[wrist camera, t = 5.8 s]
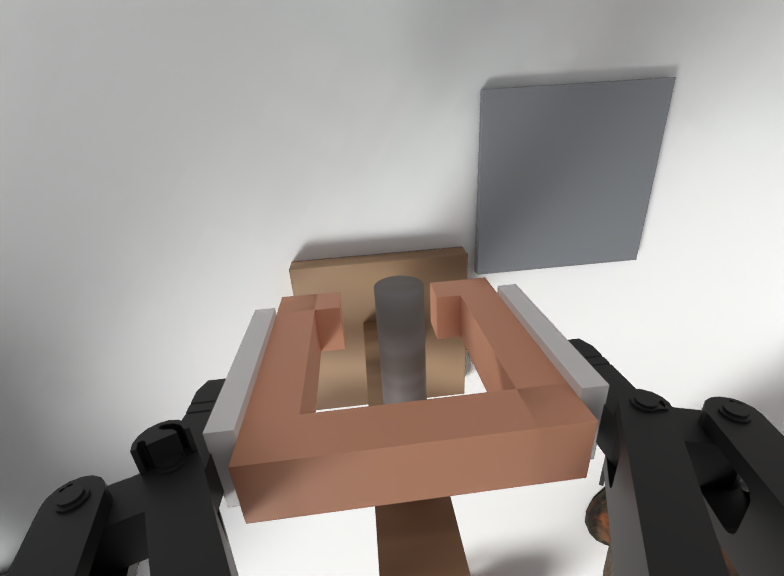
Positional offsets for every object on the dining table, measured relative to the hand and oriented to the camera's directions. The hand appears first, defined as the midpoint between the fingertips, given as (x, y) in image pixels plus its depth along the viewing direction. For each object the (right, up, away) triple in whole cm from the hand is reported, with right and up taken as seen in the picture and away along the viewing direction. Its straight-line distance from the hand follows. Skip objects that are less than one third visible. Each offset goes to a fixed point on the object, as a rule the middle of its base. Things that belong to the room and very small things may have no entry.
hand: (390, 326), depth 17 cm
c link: (0, +1, +2) cm, 2 cm away
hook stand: (-1, +1, +13) cm, 13 cm away
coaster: (+12, +9, +11) cm, 18 cm away
